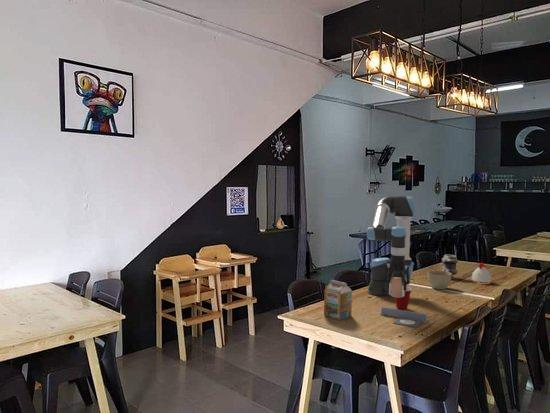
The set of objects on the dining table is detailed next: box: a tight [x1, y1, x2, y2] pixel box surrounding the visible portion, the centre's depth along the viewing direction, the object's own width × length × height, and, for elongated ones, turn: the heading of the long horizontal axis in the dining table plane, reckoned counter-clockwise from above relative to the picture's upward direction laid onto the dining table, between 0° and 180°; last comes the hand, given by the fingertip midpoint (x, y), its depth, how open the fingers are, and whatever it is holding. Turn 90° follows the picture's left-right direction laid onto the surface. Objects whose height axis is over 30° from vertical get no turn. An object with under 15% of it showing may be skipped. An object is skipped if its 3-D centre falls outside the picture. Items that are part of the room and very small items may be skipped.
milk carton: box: [323, 279, 353, 321], centre depth 232 cm, size 11×11×19 cm
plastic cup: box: [394, 286, 413, 311], centre depth 248 cm, size 11×11×12 cm
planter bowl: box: [426, 270, 453, 290], centre depth 300 cm, size 16×16×11 cm
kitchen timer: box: [470, 262, 493, 283], centre depth 320 cm, size 14×14×15 cm
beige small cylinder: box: [390, 277, 403, 299], centre depth 239 cm, size 6×6×10 cm
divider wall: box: [379, 306, 428, 324], centre depth 230 cm, size 24×4×4 cm, turn 58°
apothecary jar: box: [440, 254, 459, 280], centre depth 333 cm, size 12×12×18 cm
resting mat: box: [392, 317, 423, 329], centre depth 222 cm, size 12×11×1 cm
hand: (396, 295), depth 239 cm, fingers closed on beige small cylinder, 6 cm apart
